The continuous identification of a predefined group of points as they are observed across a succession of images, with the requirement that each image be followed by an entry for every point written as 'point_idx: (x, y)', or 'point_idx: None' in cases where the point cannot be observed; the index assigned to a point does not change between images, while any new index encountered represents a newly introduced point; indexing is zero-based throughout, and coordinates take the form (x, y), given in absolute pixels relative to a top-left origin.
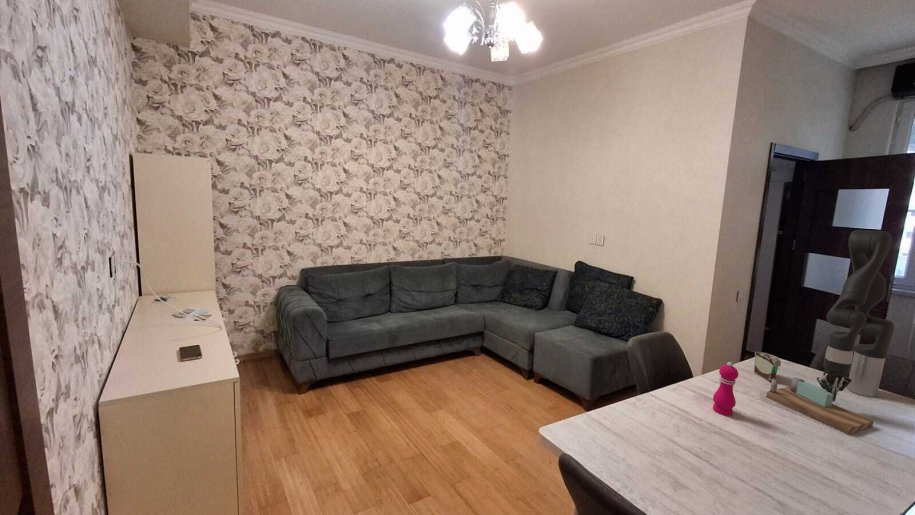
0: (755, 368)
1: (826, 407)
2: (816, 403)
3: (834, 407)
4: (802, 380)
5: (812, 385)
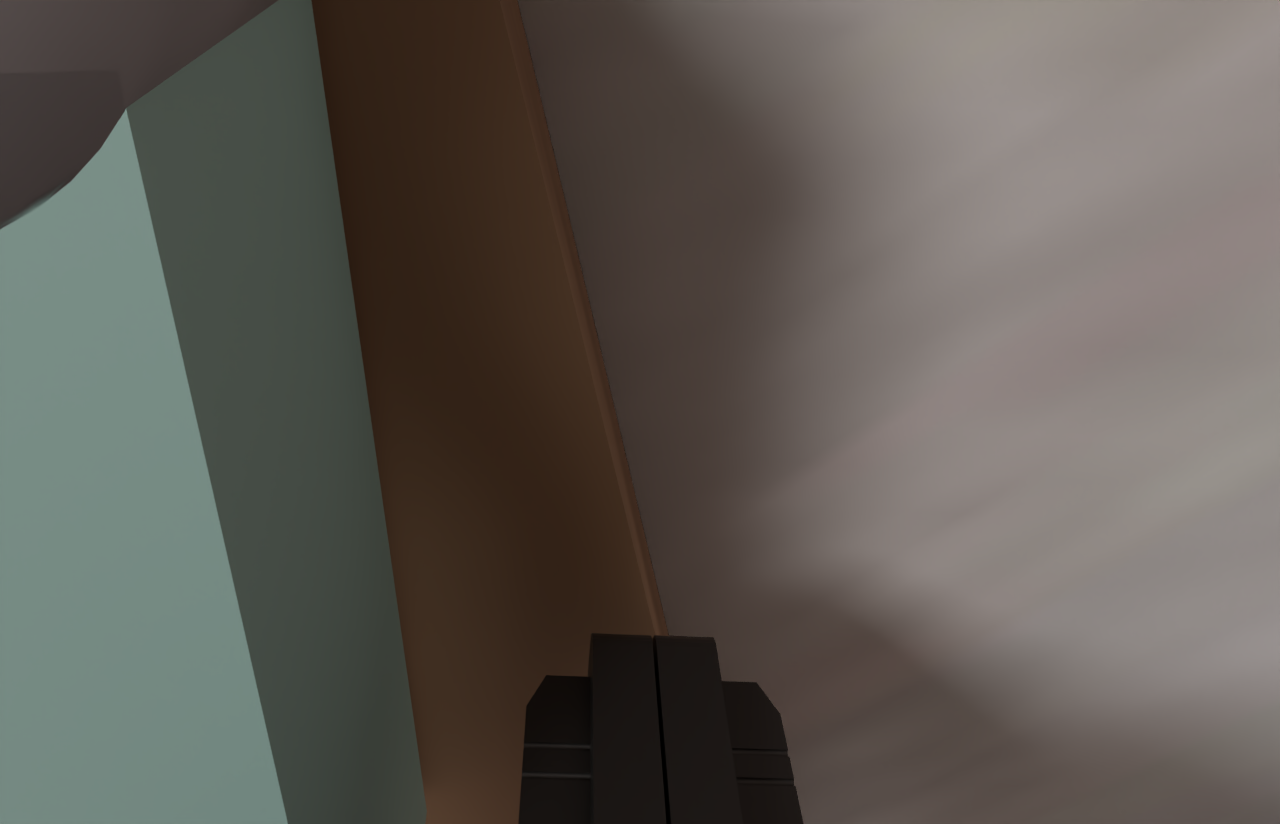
0: None
1: None
2: None
3: (508, 811)
4: (10, 2)
5: (130, 644)
